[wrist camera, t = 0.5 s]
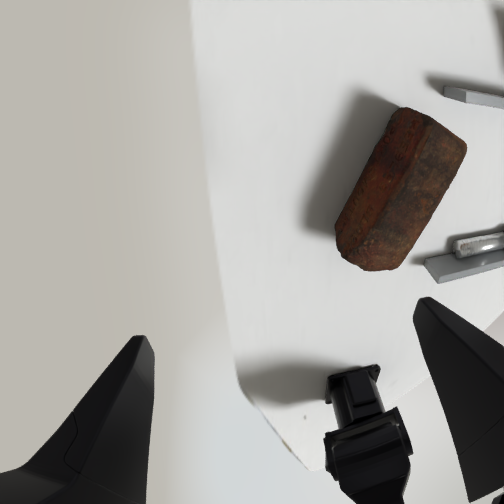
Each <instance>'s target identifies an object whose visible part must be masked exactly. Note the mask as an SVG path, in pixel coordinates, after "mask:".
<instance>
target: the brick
mask: <svg viewBox="0 0 504 504" xmlns="http://www.w3.org/2000/svg"><path fill="white" fill-rule="evenodd" d="M466 152H467V144H466V143H465V142H464V141H463V140H462V139H460V138H459V137H457V136H456V135H455V134H453V133H452V132H451V131H449V130H448V129H447V128H445V127H444V126H443V125H441V124H440V123H438V122H437V121H436V120H434V119H433V118H431V117H430V116H428V115H425V114H422V113H419V112H418V111H416V110H413V109H411V108H408V107H405V108H399V110H397V111H396V112H395V113H394V114H393V115H392V117H391V120H390V121H389V123H388V126H387V128H386V131H385V133H384V135H383V136H382V138H381V140H380V141H379V143H378V144H377V145H376V146H375V148H374V151H373V153H372V155H371V157H370V159H369V161H368V163H367V165H366V166H365V168H364V170H363V172H362V174H361V176H360V178H359V180H358V182H357V184H356V186H355V188H354V190H353V192H352V194H351V196H350V197H349V199H348V201H347V203H346V205H345V207H344V209H343V211H342V213H341V214H340V216H339V218H338V220H337V222H336V224H335V231H336V246H337V249H338V251H339V252H340V253H341V257H342V258H344V259H345V260H347V261H348V262H350V263H352V264H354V265H357V266H359V267H360V268H361V269H363V270H364V271H382V270H393V269H396V268H398V267H399V266H400V265H401V263H402V262H403V260H404V259H405V258H406V256H407V255H408V253H409V252H410V250H411V249H412V248H413V246H414V244H415V243H416V241H417V239H418V238H419V236H420V235H421V233H422V231H423V230H424V228H425V227H426V225H427V224H428V222H429V221H430V219H431V217H432V214H433V213H434V211H435V210H436V208H437V206H438V205H439V203H440V202H441V200H442V198H443V196H444V194H445V192H446V190H447V189H448V188H449V186H450V184H451V183H452V181H453V179H454V177H455V176H456V174H457V171H458V169H459V167H460V165H461V163H462V162H463V159H464V157H465V155H466Z"/></svg>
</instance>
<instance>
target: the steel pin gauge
mask: <svg viewBox="0 0 504 504" xmlns="http://www.w3.org/2000/svg"><path fill="white" fill-rule="evenodd" d="M502 248H503V249H504V231H502V232H499V233H494V234H489V235H483V236H478V237H473V238H467V239H462V240H457V241H455V242H454V243H453V253H454V255H455V257H456V258H463V257H467V256H472V255H476V254H481V253H485V252H489V251H493V250H498V249H502Z"/></svg>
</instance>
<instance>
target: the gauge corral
mask: <svg viewBox="0 0 504 504" xmlns="http://www.w3.org/2000/svg"><path fill="white" fill-rule="evenodd" d="M444 97H447V98H451V99H454V100H458V101H461V102H464V103H469V104H476V105H483V106H489V107H495V108H501V109H504V97H503V96H499V95H494V94H489V93H484V92H479V91H473V90H467V89H461V88H454V87H447V86H444ZM503 266H504V249H503V248H502V249H498V250H493V251H489V252H485V253H481V254H476V255H472V256H467V257H463V258H456V257H455V255H454V253H452V254H447V255H442V256H437V257H432V258H427V259H426V260H425V264H424V267H425V268H426V269H427V270H428V272H429V273H430V274H431V276H432V277H433V278H434V280H435V281H436V282H437V284H440V283H444V282H448V281H452V280H456V279H460V278H463V277H467V276H471V275H475V274H478V273H482V272H486V271H489V270H493V269H496V268H500V267H503Z"/></svg>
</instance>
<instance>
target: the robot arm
mask: <svg viewBox="0 0 504 504" xmlns="http://www.w3.org/2000/svg"><path fill="white" fill-rule="evenodd" d="M413 323H414V326H415V329H416V332H417V336H418V339H419V342H420V346H421V349H422V353H423V356H424V359H425V362H426V364H427V367H428V369H429V372H430V375H431V377H432V380H433V382H434V385H435V387H436V390H437V393H438V396H439V399H440V402H441V404H442V407H443V410H444V413H445V416H446V419H447V422H448V425H449V429H450V432H451V435H452V438H453V442H454V445H455V448H456V451H457V455H458V460H459V463H460V467H461V471H462V474H463V479H464V483H465V487H466V491H467V496H468V500H469V503H471V502H473V501H475V500H477V499H480V498H482V497H484V496H486V495H488V494H490V493H492V492H494V491H496V490H498V489H500V488H502V487H503V489H504V346H503V345H501V344H500V343H498V342H497V341H495V340H494V339H492V338H491V337H490V336H488V335H487V334H485V333H484V332H483V331H481V330H480V329H478V328H477V327H475V326H474V325H472V324H471V323H469V322H468V321H466V320H465V319H463V318H462V317H460V316H459V315H457V314H456V313H454V312H453V311H451V310H450V309H448V308H447V307H445V306H444V305H442V304H441V303H439V302H438V301H436V300H434V299H433V298H431V297H424V298H420V299H419V300H418V302H417V305H416V308H415V311H414V314H413ZM154 362H155V357H154V351H153V349H152V347H151V345H150V343H149V341H148V339H147V338H146V336H144V335H136V336H133V337H132V338H131V339H130V340H129V341H128V342H127V344H126V345H125V346H124V347H123V348H122V350H121V351H120V352H119V353H118V354H117V356H116V357H115V358H114V359H113V361H112V362H111V363H110V364H109V365H108V367H107V368H106V369H105V370H104V372H103V373H102V374H101V376H100V377H99V378H98V379H97V380H96V382H95V383H94V384H93V385H92V387H91V388H90V389H89V390H88V392H87V393H86V394H85V396H84V397H83V398H82V399H81V401H80V402H79V403H78V404H77V406H76V407H75V408H74V410H73V411H72V412H71V413H70V414H69V416H68V417H67V418H66V420H65V421H64V422H63V423H62V425H61V426H60V427H59V428H58V429H57V431H56V432H55V433H54V434H53V435H52V436H51V437H50V438H49V440H48V441H47V442H46V443H45V444H44V445H43V446H42V447H41V448H40V449H39V450H38V451H37V452H36V453H35V455H34V456H33V457H32V458H31V459H30V460H29V461H28V462H27V463H25V464H24V465H23V466H21V467H19V468H17V469H14V470H11V471H7V472H3V473H0V504H146V486H147V471H148V456H149V444H150V433H151V423H152V413H153V404H154ZM380 370H381V368H380V366H378V365H377V366H373V367H369V368H365V369H361V370H356V371H352V372H348V373H343V374H338V375H333V376H330V377H328V379H327V387H326V396H325V403H326V404H331V403H332V404H333V408H334V412H335V416H336V420H337V424H338V428H339V429H338V430H335V431H332V432H326V433H325V438H324V439H323V440H324V445H325V451H326V464H325V468H326V471H328V472H329V473H331V475H332V476H333V478H334V480H335V481H339V485H340V489H341V490H342V491H343V492H344V493H345V494H346V495H347V496H348V497H349V498H351V499H352V500H353V501H354V502H355V503H356V504H404V500H403V494H404V491H405V488H406V485H407V482H408V479H409V476H410V461H409V458H408V456H410V455H412V454H413V449H412V445H411V442H410V438H409V436H408V433H407V430H406V428H405V425H404V423H403V420H402V417H401V415H400V413H399V410H398V408H397V407H395V408H393V409H391V410H389V411H387V412H385V409H384V406H383V403H382V400H381V397H380V394H379V392H378V389H377V386H376V382H377V379H378V376H379V373H380ZM492 504H504V492H503V493H502V494H500V495H499V496H497V497H495V498H494V499H493V501H492Z"/></svg>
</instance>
